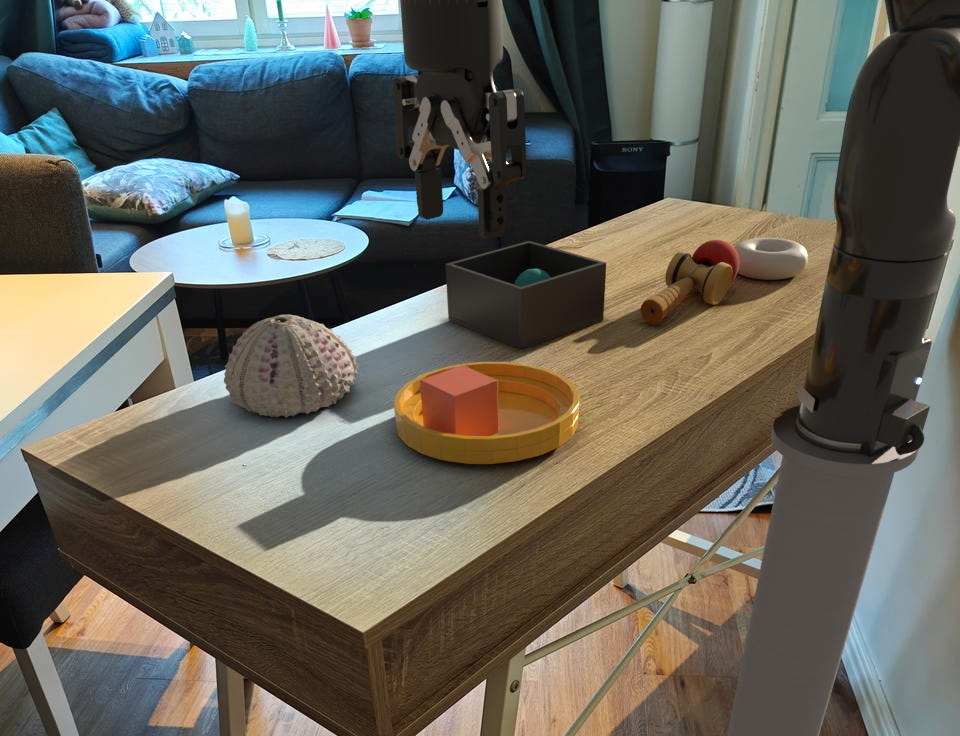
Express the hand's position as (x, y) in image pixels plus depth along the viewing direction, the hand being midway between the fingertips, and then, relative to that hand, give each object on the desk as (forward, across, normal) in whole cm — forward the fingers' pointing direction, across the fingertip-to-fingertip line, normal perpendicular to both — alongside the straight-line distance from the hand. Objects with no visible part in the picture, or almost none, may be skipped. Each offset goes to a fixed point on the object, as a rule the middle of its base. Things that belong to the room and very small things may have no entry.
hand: (460, 226), depth 75 cm
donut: (+18, -9, +57) cm, 60 cm away
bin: (+18, -17, +22) cm, 33 cm away
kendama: (+18, -8, +40) cm, 44 cm away
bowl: (+17, +2, 0) cm, 18 cm away
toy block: (+17, +3, -3) cm, 17 cm away
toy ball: (+17, -17, +23) cm, 33 cm away
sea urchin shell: (+18, -16, -10) cm, 26 cm away
